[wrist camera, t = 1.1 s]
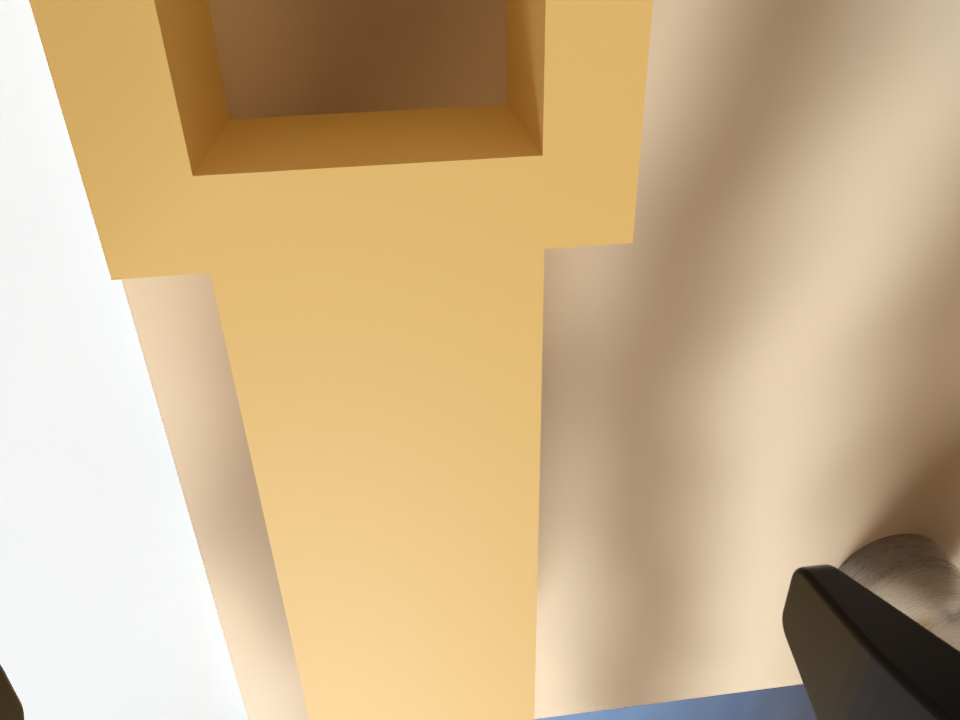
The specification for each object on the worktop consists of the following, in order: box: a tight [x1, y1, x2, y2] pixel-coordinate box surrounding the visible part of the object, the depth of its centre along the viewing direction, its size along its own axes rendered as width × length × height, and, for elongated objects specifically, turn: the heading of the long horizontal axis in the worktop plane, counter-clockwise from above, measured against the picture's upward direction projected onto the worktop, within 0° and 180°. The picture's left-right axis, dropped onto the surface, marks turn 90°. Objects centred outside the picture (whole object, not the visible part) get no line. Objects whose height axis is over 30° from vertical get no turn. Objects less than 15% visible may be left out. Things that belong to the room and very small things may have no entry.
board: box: [122, 0, 960, 720], centre depth 15 cm, size 21×25×1 cm
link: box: [29, 0, 653, 720], centre depth 13 cm, size 19×7×3 cm, turn 1°
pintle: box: [838, 534, 960, 651], centre depth 18 cm, size 3×3×4 cm
